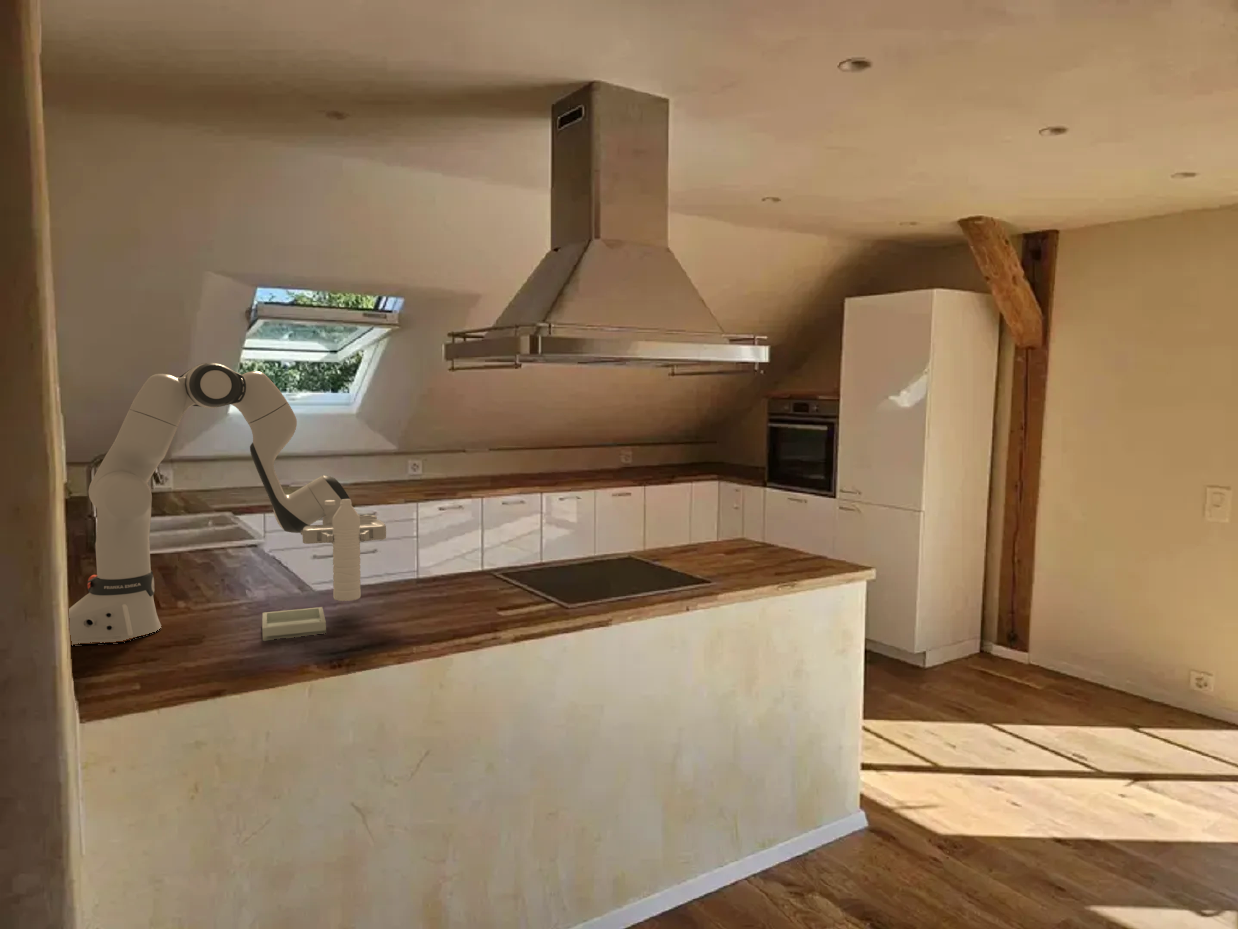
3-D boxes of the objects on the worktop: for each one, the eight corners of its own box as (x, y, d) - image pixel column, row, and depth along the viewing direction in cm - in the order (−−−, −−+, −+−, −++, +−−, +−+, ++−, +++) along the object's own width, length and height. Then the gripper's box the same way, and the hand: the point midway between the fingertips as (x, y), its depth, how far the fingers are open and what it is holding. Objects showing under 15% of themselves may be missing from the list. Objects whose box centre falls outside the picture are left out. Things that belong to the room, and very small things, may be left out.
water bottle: (352, 593, 214) (351, 496, 211) (365, 598, 210) (364, 499, 207) (320, 599, 208) (318, 499, 205) (333, 604, 204) (332, 502, 201)
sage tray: (262, 641, 196) (262, 628, 196) (263, 624, 209) (262, 612, 209) (326, 634, 201) (325, 622, 201) (322, 618, 214) (322, 607, 214)
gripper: (299, 518, 215) (301, 528, 203) (381, 515, 223) (388, 523, 210) (300, 543, 216) (302, 553, 203) (382, 538, 224) (389, 548, 211)
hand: (347, 538), depth 207 cm, fingers closed on water bottle, 6 cm apart
